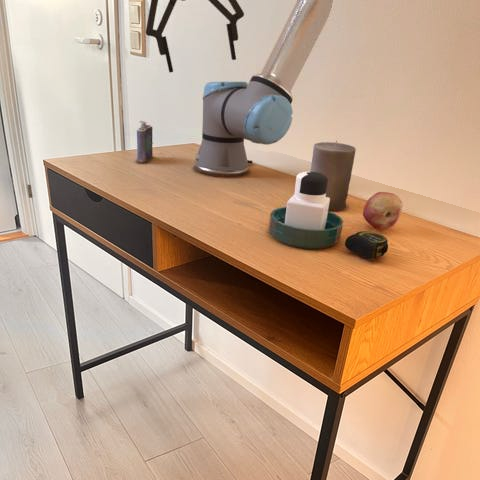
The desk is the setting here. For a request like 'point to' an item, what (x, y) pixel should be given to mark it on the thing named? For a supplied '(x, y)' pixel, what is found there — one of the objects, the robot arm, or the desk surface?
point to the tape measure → (367, 244)
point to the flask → (144, 142)
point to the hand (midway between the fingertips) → (202, 65)
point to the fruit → (382, 210)
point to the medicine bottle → (308, 202)
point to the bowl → (305, 231)
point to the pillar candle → (334, 170)
